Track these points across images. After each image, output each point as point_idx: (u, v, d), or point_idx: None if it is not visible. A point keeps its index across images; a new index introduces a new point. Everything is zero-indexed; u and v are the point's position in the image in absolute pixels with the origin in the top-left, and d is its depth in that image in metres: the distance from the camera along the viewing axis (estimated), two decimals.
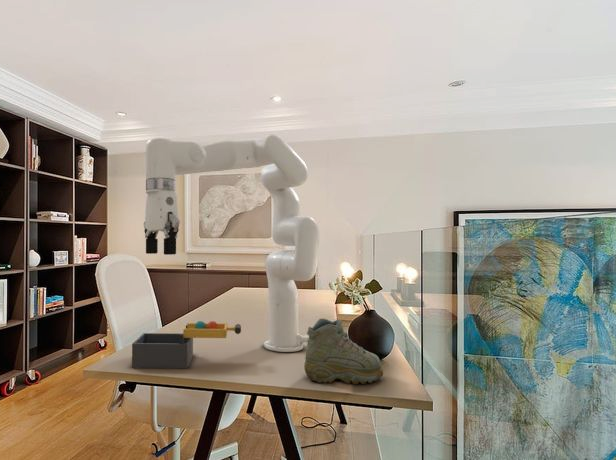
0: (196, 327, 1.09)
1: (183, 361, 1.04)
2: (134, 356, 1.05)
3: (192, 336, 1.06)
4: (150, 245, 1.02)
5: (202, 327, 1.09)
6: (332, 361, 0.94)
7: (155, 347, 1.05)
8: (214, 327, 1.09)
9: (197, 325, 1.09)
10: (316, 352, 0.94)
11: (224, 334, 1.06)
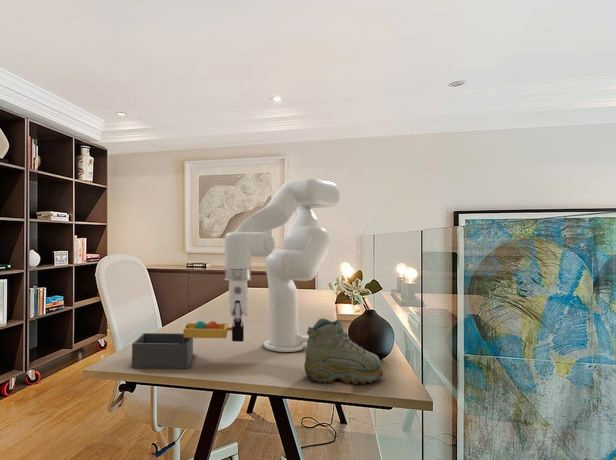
0: (196, 327, 1.09)
1: (183, 361, 1.04)
2: (134, 356, 1.05)
3: (192, 336, 1.06)
4: None
5: (202, 328, 1.09)
6: (332, 361, 0.94)
7: (155, 347, 1.05)
8: (214, 327, 1.09)
9: (197, 325, 1.09)
10: (316, 352, 0.94)
11: (224, 334, 1.06)
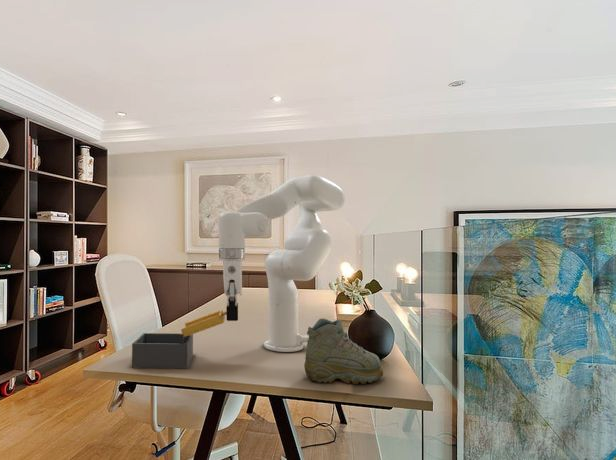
0: None
1: (183, 361, 1.04)
2: (134, 356, 1.05)
3: (191, 333, 1.06)
4: None
5: None
6: (332, 361, 0.94)
7: (155, 347, 1.05)
8: None
9: None
10: (316, 352, 0.94)
11: (221, 319, 1.06)
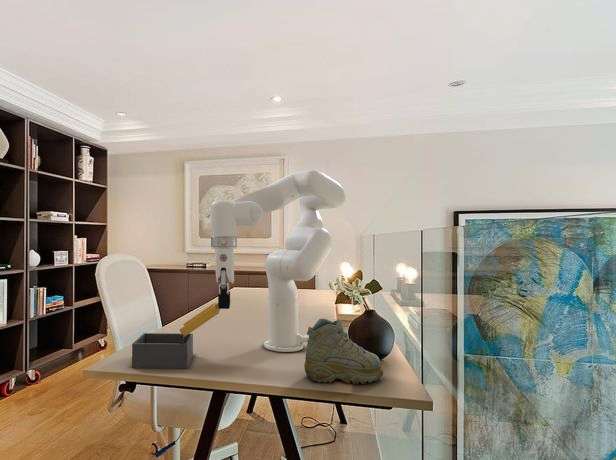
0: None
1: (183, 361, 1.04)
2: (134, 356, 1.05)
3: (190, 330, 1.06)
4: None
5: None
6: (332, 361, 0.94)
7: (155, 347, 1.05)
8: None
9: None
10: (316, 352, 0.94)
11: (215, 311, 1.06)
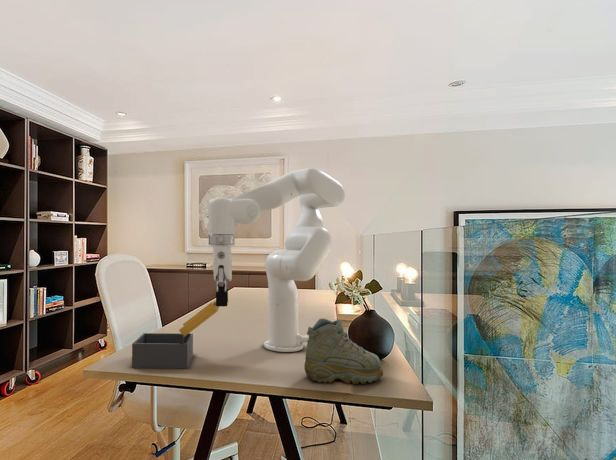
0: None
1: (183, 361, 1.04)
2: (134, 356, 1.05)
3: (190, 330, 1.06)
4: None
5: None
6: (332, 361, 0.94)
7: (155, 347, 1.05)
8: None
9: None
10: (316, 352, 0.94)
11: (214, 309, 1.06)
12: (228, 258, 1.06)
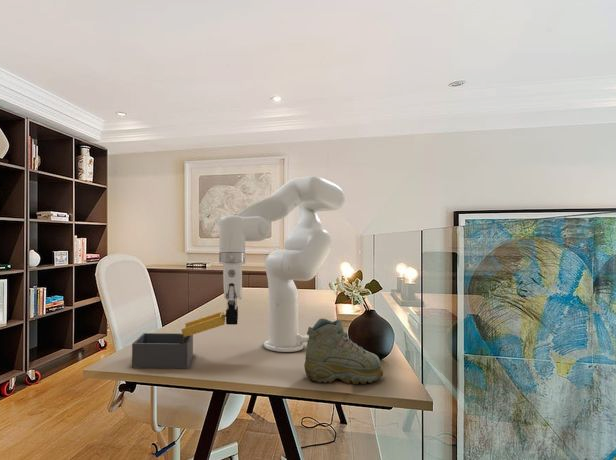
0: None
1: (183, 361, 1.04)
2: (134, 356, 1.05)
3: (191, 333, 1.06)
4: None
5: None
6: (332, 361, 0.94)
7: (155, 347, 1.05)
8: None
9: None
10: (316, 352, 0.94)
11: (221, 321, 1.06)
12: (239, 276, 1.06)
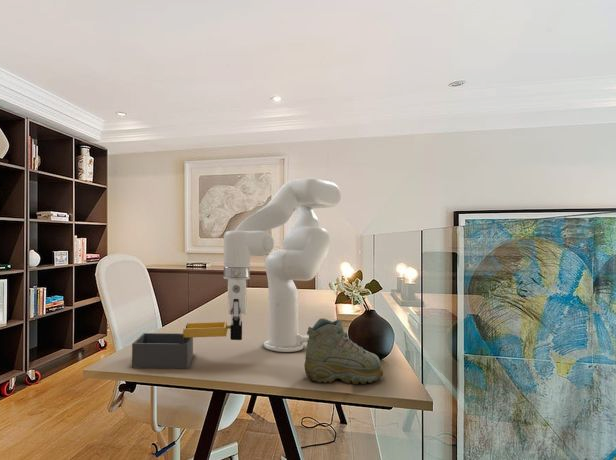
0: None
1: (183, 361, 1.04)
2: (134, 356, 1.05)
3: (192, 336, 1.06)
4: None
5: None
6: (332, 361, 0.94)
7: (155, 347, 1.05)
8: None
9: None
10: (316, 352, 0.94)
11: (224, 332, 1.06)
12: (243, 292, 1.06)
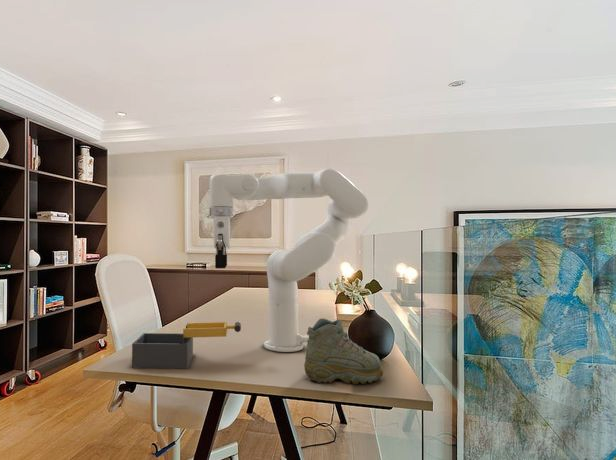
0: None
1: (183, 361, 1.04)
2: (134, 356, 1.05)
3: (192, 336, 1.06)
4: None
5: None
6: (332, 361, 0.94)
7: (155, 347, 1.05)
8: None
9: None
10: (316, 352, 0.94)
11: (224, 332, 1.06)
12: (227, 227, 1.17)
